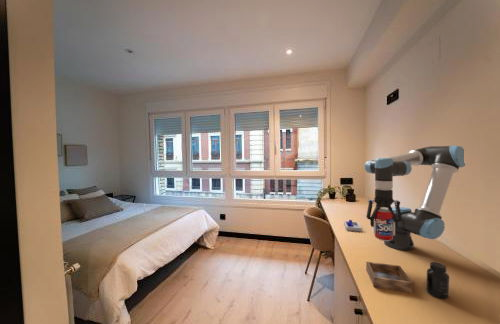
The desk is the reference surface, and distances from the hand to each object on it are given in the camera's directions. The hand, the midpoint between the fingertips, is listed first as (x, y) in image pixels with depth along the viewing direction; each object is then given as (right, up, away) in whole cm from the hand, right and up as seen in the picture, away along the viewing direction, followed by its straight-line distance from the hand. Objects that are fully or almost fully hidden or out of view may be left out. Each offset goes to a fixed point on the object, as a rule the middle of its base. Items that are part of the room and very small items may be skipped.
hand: (383, 233), depth 108 cm
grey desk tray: (+9, -14, +53) cm, 55 cm away
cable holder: (+9, -13, +54) cm, 56 cm away
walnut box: (-7, -16, -13) cm, 22 cm away
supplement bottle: (+7, -17, -23) cm, 29 cm away
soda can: (0, -3, 0) cm, 3 cm away
